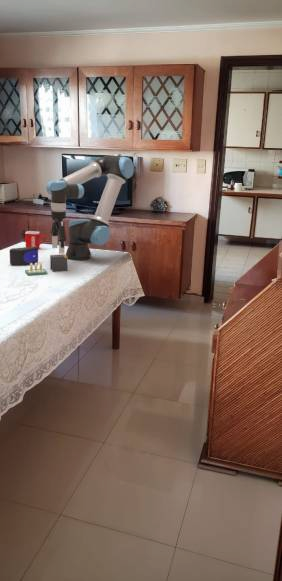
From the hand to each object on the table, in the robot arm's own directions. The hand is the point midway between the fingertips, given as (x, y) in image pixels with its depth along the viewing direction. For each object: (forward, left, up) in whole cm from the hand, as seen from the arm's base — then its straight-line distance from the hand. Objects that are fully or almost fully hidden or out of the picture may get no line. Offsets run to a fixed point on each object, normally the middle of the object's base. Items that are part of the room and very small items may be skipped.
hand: (58, 250), depth 241 cm
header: (+13, +3, -11) cm, 17 cm away
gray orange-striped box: (0, 0, -11) cm, 11 cm away
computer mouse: (+15, -17, -11) cm, 25 cm away
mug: (+1, -50, -11) cm, 51 cm away
